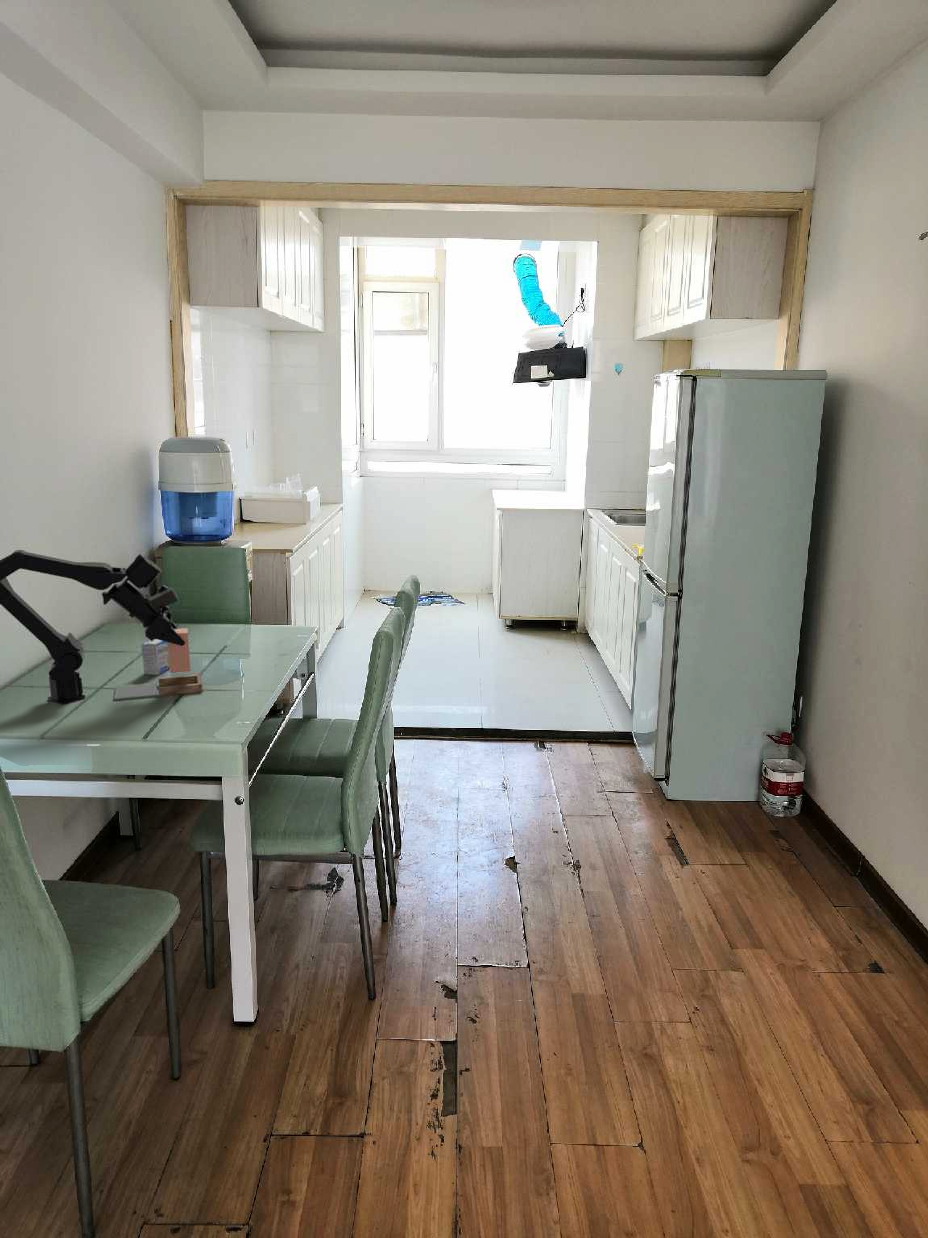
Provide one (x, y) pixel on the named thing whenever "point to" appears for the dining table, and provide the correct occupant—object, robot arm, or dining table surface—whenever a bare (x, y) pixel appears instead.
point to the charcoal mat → (135, 691)
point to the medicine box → (155, 657)
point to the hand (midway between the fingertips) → (183, 641)
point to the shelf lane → (180, 688)
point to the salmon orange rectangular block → (179, 653)
